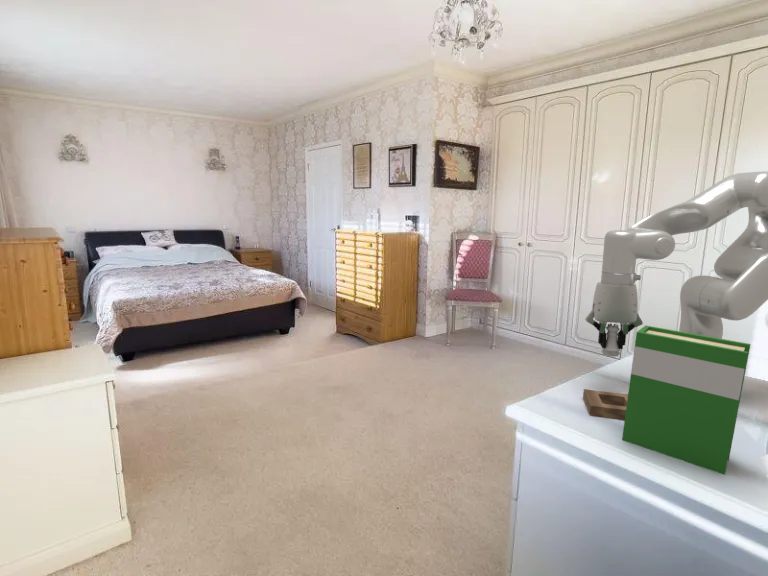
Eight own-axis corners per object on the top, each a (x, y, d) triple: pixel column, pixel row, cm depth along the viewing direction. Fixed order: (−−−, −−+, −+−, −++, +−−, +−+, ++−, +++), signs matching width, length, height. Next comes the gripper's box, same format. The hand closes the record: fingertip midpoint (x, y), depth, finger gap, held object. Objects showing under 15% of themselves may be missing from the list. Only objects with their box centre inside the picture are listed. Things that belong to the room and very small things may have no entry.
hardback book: (729, 458, 88) (750, 344, 84) (724, 474, 83) (747, 353, 78) (631, 427, 100) (645, 325, 95) (622, 440, 94) (636, 332, 90)
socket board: (651, 406, 110) (652, 397, 110) (665, 425, 101) (666, 415, 101) (582, 398, 115) (583, 389, 114) (589, 415, 105) (590, 405, 105)
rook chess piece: (622, 357, 115) (625, 327, 113) (603, 356, 116) (606, 326, 114) (617, 351, 119) (619, 323, 117) (599, 350, 120) (601, 322, 118)
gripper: (648, 277, 115) (641, 344, 118) (580, 275, 119) (575, 340, 123) (658, 282, 108) (650, 354, 111) (585, 280, 112) (579, 349, 116)
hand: (611, 346), depth 117 cm, fingers closed on rook chess piece, 3 cm apart
